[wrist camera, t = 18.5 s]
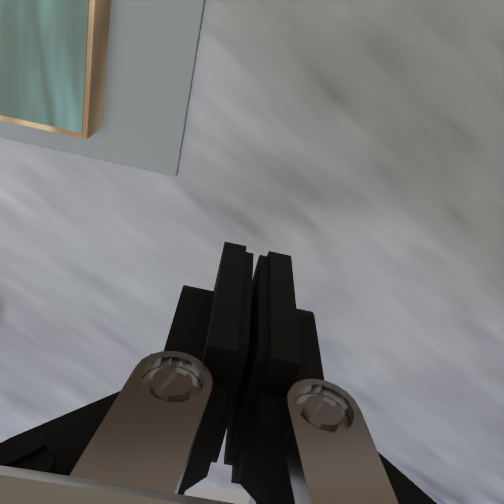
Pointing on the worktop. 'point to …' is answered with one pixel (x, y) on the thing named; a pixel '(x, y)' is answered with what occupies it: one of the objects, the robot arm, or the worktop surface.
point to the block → (54, 64)
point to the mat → (138, 88)
